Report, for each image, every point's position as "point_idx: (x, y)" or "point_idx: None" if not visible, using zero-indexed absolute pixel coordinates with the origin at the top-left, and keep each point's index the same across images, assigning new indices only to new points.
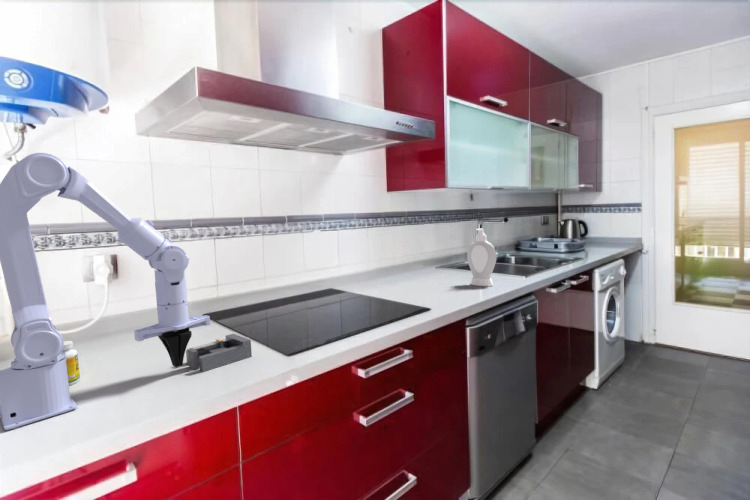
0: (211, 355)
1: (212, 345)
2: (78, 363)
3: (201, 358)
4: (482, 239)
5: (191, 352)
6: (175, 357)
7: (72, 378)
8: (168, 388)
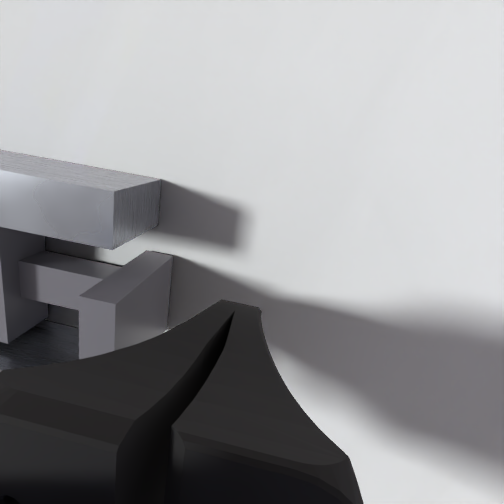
0: (38, 178)
1: None
2: None
3: (115, 198)
4: None
5: (120, 327)
6: (257, 333)
7: None
8: (426, 135)
